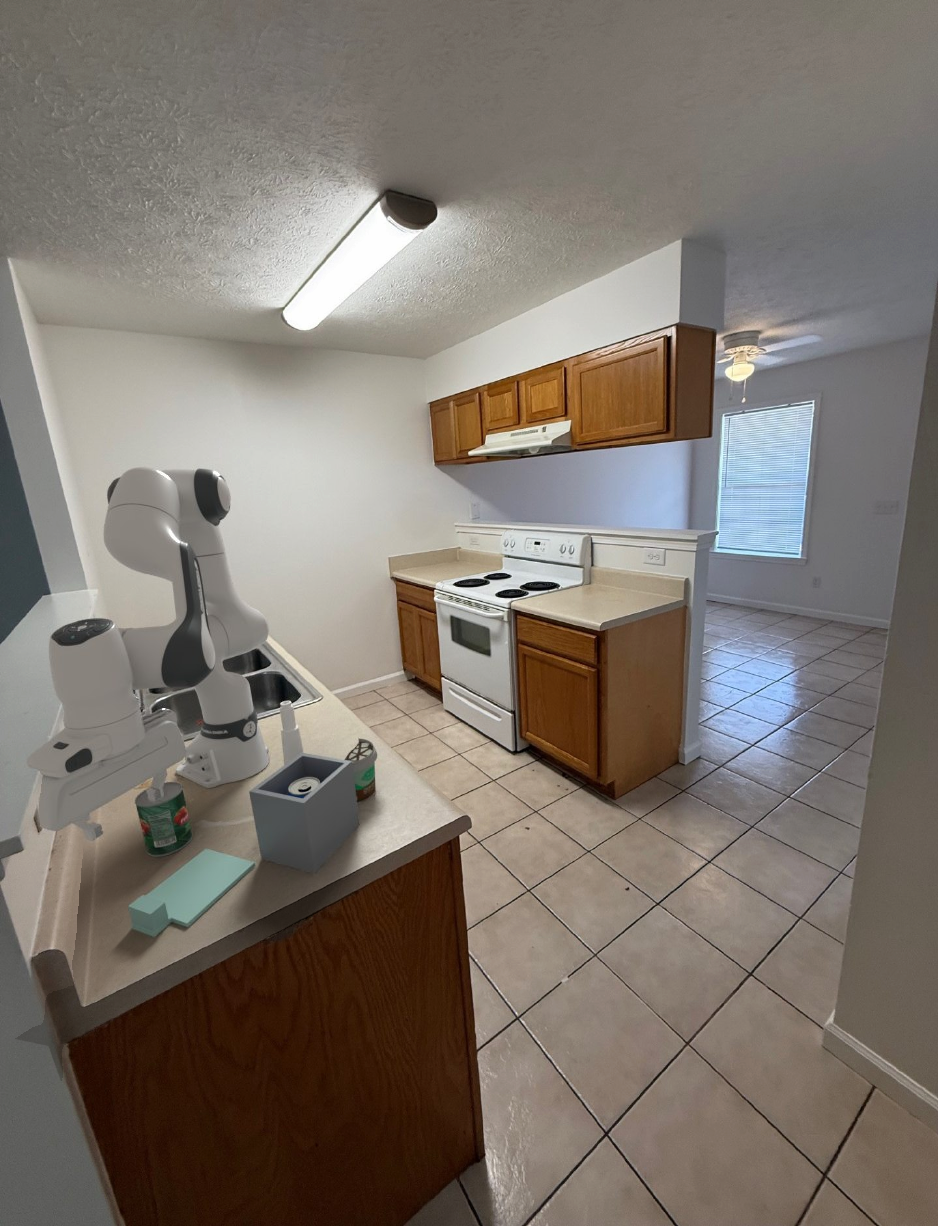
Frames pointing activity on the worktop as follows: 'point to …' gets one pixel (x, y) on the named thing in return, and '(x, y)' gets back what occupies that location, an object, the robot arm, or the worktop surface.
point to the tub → (305, 812)
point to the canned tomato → (164, 820)
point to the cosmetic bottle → (290, 733)
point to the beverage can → (303, 787)
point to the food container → (363, 768)
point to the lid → (188, 892)
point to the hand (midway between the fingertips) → (127, 816)
